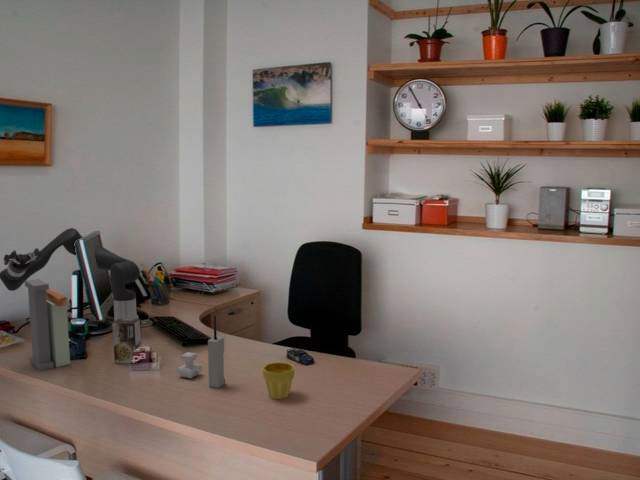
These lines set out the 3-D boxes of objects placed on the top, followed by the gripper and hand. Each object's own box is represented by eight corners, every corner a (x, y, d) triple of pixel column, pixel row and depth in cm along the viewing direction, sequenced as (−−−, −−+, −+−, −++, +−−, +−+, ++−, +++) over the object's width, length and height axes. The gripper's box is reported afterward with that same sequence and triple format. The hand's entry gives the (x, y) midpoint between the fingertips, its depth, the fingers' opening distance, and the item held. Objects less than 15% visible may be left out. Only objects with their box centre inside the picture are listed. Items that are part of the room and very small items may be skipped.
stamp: (205, 375, 223) (204, 353, 222) (193, 381, 217) (193, 358, 216) (185, 371, 227) (185, 349, 226) (173, 377, 221) (173, 354, 220)
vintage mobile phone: (225, 383, 215) (223, 314, 212) (218, 388, 211) (216, 317, 207) (215, 382, 217) (214, 313, 213) (208, 387, 212) (207, 316, 208)
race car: (321, 364, 237) (321, 352, 236) (309, 368, 232) (309, 357, 231) (293, 355, 247) (293, 344, 246) (281, 359, 242) (281, 348, 241)
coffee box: (143, 358, 241) (141, 318, 239) (136, 364, 235) (135, 323, 233) (120, 357, 242) (118, 318, 240) (113, 363, 236) (111, 322, 233)
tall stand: (43, 359, 240) (38, 279, 235) (53, 367, 231) (48, 284, 226) (30, 362, 237) (24, 280, 232) (39, 370, 228) (34, 286, 223)
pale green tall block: (59, 356, 244) (56, 297, 240) (70, 364, 235) (66, 302, 231) (46, 358, 241) (42, 299, 237) (56, 367, 232) (52, 304, 228)
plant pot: (282, 404, 198) (282, 374, 197) (257, 397, 203) (256, 368, 202) (300, 393, 207) (300, 365, 205) (275, 387, 212) (275, 359, 211)
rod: (46, 293, 246) (46, 286, 245) (67, 305, 228) (66, 297, 227) (38, 294, 244) (38, 287, 243) (58, 306, 226) (58, 298, 225)
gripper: (-2, 259, 265) (6, 244, 254) (33, 256, 275) (42, 241, 263) (2, 275, 263) (9, 261, 252) (37, 271, 273) (46, 257, 261)
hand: (26, 251), depth 257 cm, fingers open, 8 cm apart
